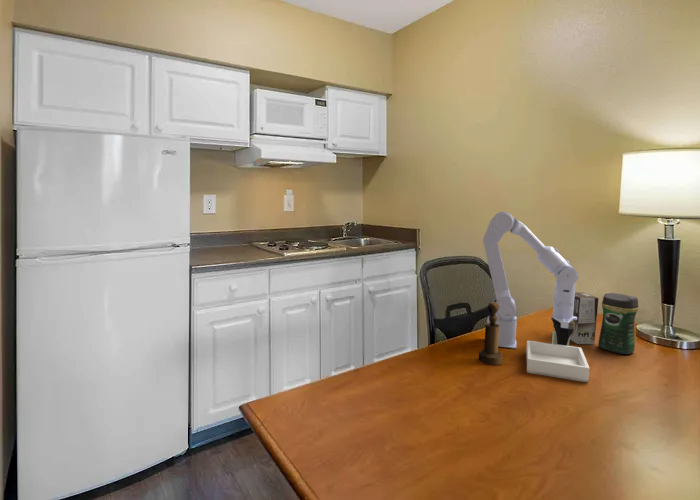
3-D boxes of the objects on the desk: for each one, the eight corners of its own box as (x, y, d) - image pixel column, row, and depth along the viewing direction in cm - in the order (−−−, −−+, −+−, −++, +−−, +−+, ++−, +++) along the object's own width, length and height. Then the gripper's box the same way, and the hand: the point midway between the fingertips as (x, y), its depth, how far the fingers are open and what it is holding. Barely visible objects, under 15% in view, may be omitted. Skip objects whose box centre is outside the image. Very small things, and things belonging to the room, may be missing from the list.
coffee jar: (638, 352, 132) (644, 296, 130) (625, 357, 128) (631, 298, 126) (606, 343, 141) (611, 290, 139) (593, 347, 137) (598, 292, 134)
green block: (552, 352, 132) (554, 333, 131) (551, 347, 136) (553, 330, 135) (568, 354, 130) (569, 336, 129) (566, 349, 134) (568, 331, 133)
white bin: (526, 372, 115) (527, 358, 114) (526, 352, 131) (527, 340, 130) (588, 382, 109) (589, 368, 109) (580, 360, 125) (581, 347, 124)
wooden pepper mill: (498, 357, 126) (502, 299, 124) (504, 366, 119) (508, 305, 117) (476, 356, 126) (480, 299, 124) (481, 364, 120) (484, 304, 118)
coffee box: (595, 344, 139) (599, 298, 137) (576, 344, 139) (580, 297, 137) (580, 336, 148) (584, 292, 146) (562, 335, 148) (566, 291, 147)
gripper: (581, 309, 123) (577, 353, 124) (575, 298, 136) (572, 338, 138) (554, 306, 125) (551, 349, 127) (551, 296, 139) (548, 335, 140)
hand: (560, 343), depth 132 cm, fingers open, 7 cm apart
